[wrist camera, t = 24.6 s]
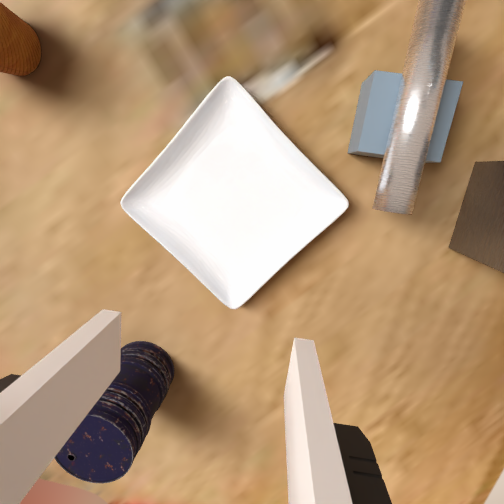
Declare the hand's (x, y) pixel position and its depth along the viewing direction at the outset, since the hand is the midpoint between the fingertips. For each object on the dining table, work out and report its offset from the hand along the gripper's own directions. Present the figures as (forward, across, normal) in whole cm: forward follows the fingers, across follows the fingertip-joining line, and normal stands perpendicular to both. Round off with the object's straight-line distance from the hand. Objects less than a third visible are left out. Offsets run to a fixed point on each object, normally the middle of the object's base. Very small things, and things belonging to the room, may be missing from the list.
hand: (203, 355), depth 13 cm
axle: (+24, +15, +15) cm, 32 cm away
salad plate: (+32, -3, +3) cm, 32 cm away
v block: (+31, +15, +15) cm, 37 cm away
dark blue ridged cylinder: (+31, -14, -25) cm, 43 cm away
